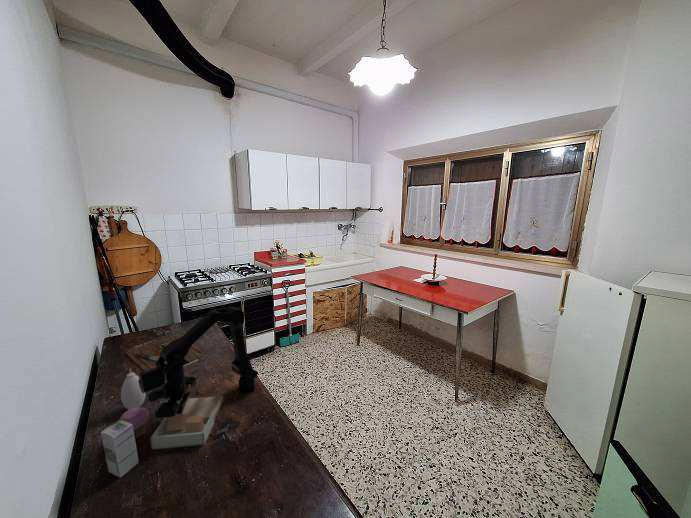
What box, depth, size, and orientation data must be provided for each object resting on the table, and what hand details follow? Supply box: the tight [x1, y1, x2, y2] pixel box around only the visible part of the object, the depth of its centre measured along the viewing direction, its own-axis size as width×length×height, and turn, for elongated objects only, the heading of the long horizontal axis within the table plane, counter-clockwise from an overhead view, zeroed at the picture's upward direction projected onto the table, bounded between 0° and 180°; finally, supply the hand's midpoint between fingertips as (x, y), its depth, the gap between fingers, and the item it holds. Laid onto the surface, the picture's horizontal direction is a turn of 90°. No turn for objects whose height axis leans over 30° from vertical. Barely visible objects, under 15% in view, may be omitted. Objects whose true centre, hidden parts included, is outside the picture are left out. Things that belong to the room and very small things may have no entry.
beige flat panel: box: [176, 395, 224, 423], centre depth 108 cm, size 16×12×2 cm
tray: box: [149, 413, 215, 451], centre depth 97 cm, size 17×10×4 cm, turn 97°
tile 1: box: [166, 414, 187, 431], centre depth 99 cm, size 5×5×3 cm
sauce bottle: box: [120, 368, 147, 410], centre depth 109 cm, size 8×8×18 cm
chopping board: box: [125, 335, 205, 372], centre depth 153 cm, size 45×27×3 cm, turn 54°
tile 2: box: [185, 416, 204, 433], centre depth 98 cm, size 5×5×3 cm
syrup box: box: [100, 420, 139, 478], centre depth 84 cm, size 6×6×14 cm
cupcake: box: [118, 407, 150, 440], centre depth 96 cm, size 9×9×10 cm
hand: (179, 415), depth 102 cm, fingers closed
